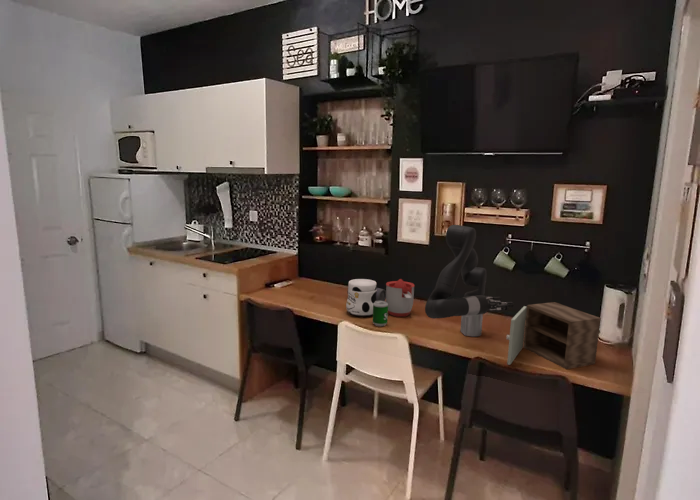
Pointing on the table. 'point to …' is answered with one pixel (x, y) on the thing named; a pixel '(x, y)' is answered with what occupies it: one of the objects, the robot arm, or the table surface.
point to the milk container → (361, 297)
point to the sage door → (516, 334)
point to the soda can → (380, 313)
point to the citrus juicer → (399, 297)
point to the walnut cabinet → (561, 334)
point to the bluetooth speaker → (380, 294)
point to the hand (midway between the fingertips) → (506, 301)
